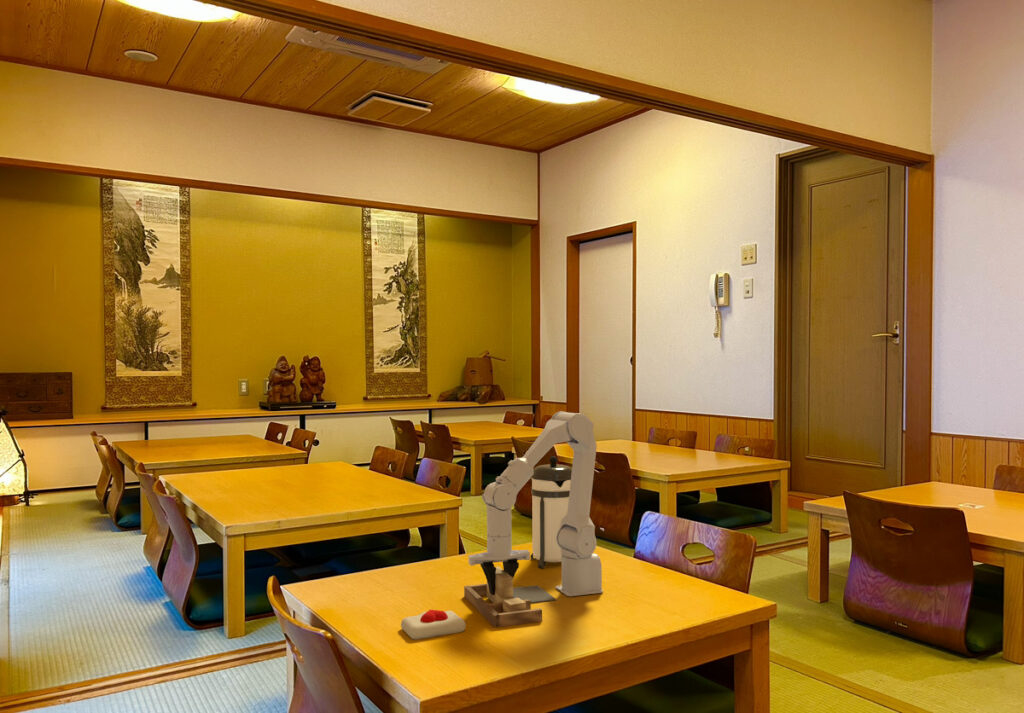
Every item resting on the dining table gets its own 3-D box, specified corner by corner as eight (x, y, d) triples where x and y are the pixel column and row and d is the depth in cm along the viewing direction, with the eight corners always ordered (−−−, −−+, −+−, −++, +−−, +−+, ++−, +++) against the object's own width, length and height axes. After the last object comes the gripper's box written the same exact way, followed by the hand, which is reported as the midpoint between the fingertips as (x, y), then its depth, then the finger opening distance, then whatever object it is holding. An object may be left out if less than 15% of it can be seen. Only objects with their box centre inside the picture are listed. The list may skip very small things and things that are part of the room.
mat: (537, 586, 193) (537, 585, 193) (556, 600, 182) (556, 599, 182) (503, 590, 190) (503, 588, 190) (520, 604, 179) (520, 603, 179)
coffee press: (592, 560, 218) (592, 455, 218) (560, 572, 206) (560, 460, 206) (543, 551, 229) (542, 450, 229) (509, 562, 216) (509, 456, 217)
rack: (507, 591, 189) (507, 581, 189) (542, 621, 167) (542, 609, 167) (464, 596, 185) (464, 586, 185) (494, 627, 164) (494, 615, 164)
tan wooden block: (498, 595, 184) (498, 566, 185) (512, 608, 175) (512, 577, 175) (487, 597, 184) (486, 567, 184) (500, 609, 174) (500, 578, 174)
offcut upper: (518, 606, 172) (518, 597, 172) (525, 611, 169) (525, 602, 169) (502, 609, 171) (502, 600, 171) (510, 614, 167) (510, 604, 167)
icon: (450, 599, 170) (467, 612, 161) (450, 619, 170) (467, 633, 161) (396, 607, 165) (411, 621, 156) (397, 627, 165) (411, 642, 156)
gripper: (522, 528, 186) (522, 584, 186) (464, 533, 181) (465, 591, 181) (532, 534, 179) (533, 593, 179) (473, 540, 174) (473, 600, 174)
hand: (499, 592), depth 179 cm, fingers closed on tan wooden block, 3 cm apart
